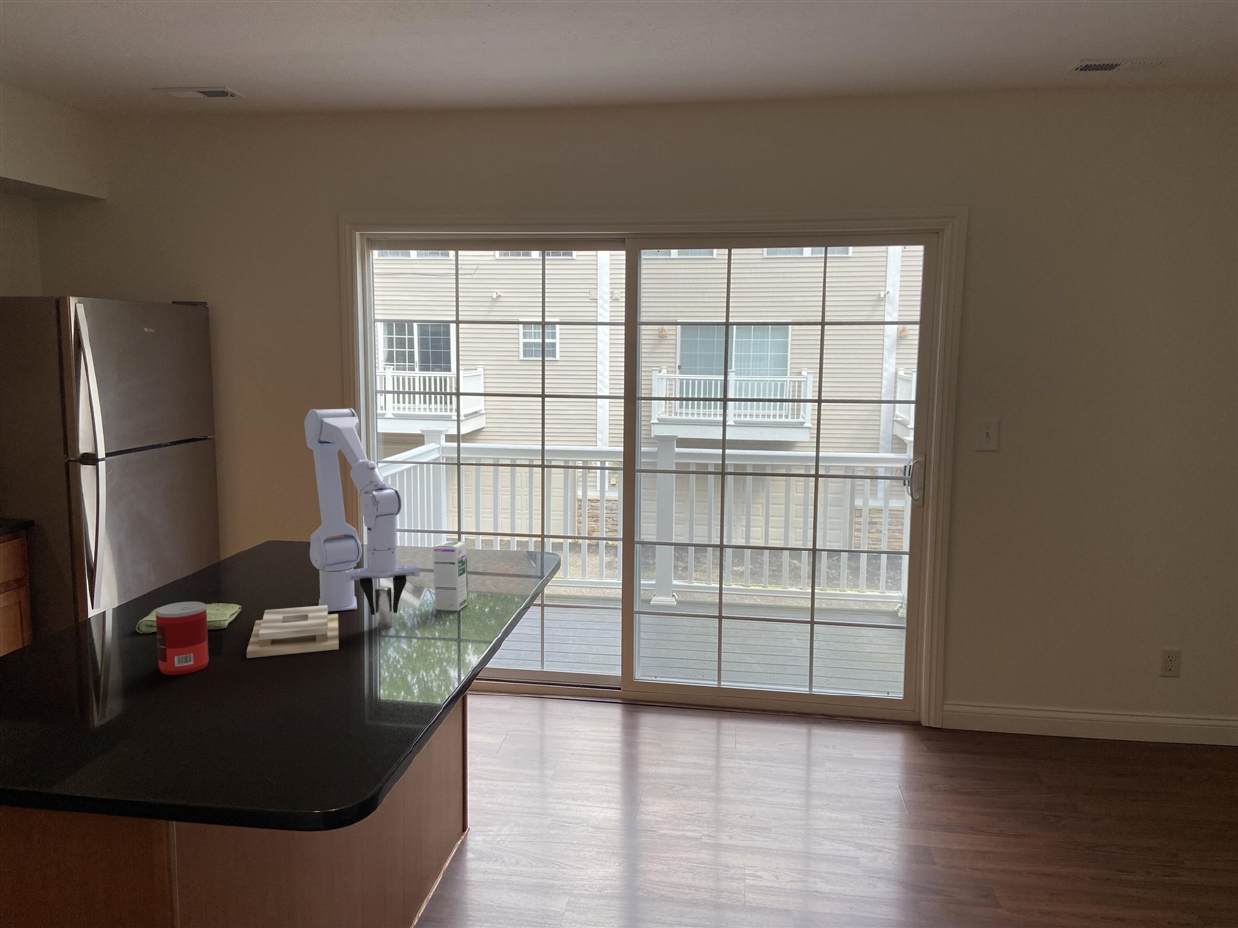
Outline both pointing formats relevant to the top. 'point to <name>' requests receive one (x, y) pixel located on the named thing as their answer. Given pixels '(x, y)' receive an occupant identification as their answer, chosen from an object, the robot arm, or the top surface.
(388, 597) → the tube
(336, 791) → the top surface
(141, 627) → the washcloth
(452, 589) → the syrup box
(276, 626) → the collar stand
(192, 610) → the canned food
